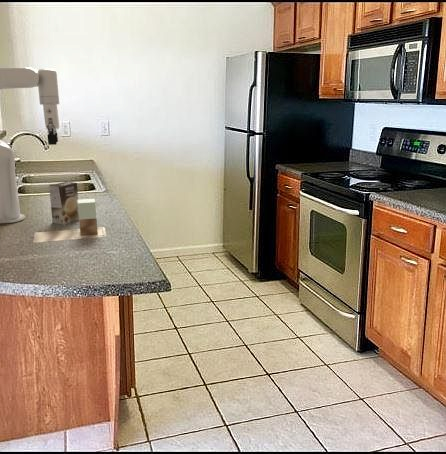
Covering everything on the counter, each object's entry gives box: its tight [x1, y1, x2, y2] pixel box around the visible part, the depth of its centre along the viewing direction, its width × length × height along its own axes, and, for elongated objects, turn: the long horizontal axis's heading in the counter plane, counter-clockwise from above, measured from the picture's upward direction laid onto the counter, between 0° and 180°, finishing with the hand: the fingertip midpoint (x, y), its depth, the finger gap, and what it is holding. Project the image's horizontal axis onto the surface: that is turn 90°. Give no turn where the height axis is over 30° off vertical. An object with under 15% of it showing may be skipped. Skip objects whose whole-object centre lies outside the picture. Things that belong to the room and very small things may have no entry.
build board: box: [32, 226, 107, 244], centre depth 181 cm, size 25×13×1 cm, turn 107°
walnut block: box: [78, 217, 98, 236], centre depth 182 cm, size 6×6×6 cm
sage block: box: [77, 198, 97, 221], centre depth 180 cm, size 6×6×6 cm
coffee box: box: [48, 181, 79, 225], centre depth 198 cm, size 9×6×16 cm
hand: (53, 143), depth 207 cm, fingers open, 9 cm apart
